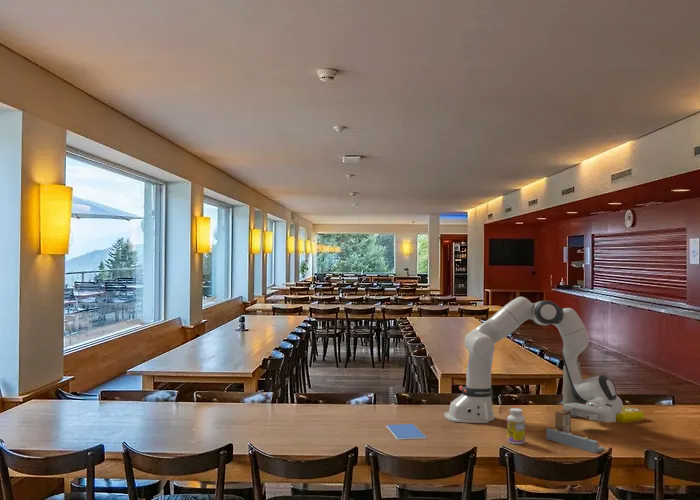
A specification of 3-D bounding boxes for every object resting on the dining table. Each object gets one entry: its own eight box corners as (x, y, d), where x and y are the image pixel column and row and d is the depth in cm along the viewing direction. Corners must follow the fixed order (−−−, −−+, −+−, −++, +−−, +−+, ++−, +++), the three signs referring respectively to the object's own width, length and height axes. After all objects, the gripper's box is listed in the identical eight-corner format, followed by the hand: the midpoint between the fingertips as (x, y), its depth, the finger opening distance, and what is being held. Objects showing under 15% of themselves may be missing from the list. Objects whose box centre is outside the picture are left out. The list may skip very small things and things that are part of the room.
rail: (595, 453, 211) (595, 440, 211) (546, 438, 228) (546, 427, 228) (604, 450, 215) (604, 437, 215) (555, 436, 232) (555, 424, 232)
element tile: (618, 413, 272) (618, 402, 272) (646, 421, 258) (646, 410, 258) (595, 415, 266) (595, 405, 266) (622, 424, 252) (622, 413, 252)
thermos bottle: (561, 413, 268) (561, 353, 271) (578, 414, 267) (579, 354, 269) (565, 416, 260) (565, 354, 263) (583, 417, 259) (583, 355, 261)
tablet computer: (427, 440, 227) (427, 436, 227) (397, 441, 224) (397, 438, 224) (413, 426, 246) (413, 423, 246) (385, 427, 243) (385, 424, 243)
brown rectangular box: (561, 441, 225) (561, 413, 226) (555, 439, 228) (555, 411, 228) (570, 439, 228) (570, 411, 229) (564, 437, 231) (564, 409, 231)
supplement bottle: (504, 439, 226) (504, 407, 227) (520, 439, 227) (521, 407, 227) (510, 445, 220) (511, 411, 220) (527, 444, 220) (527, 411, 221)
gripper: (574, 397, 251) (555, 402, 242) (619, 407, 234) (600, 412, 226) (574, 412, 250) (555, 417, 242) (619, 422, 234) (600, 428, 226)
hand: (577, 414), depth 234 cm, fingers open, 8 cm apart
